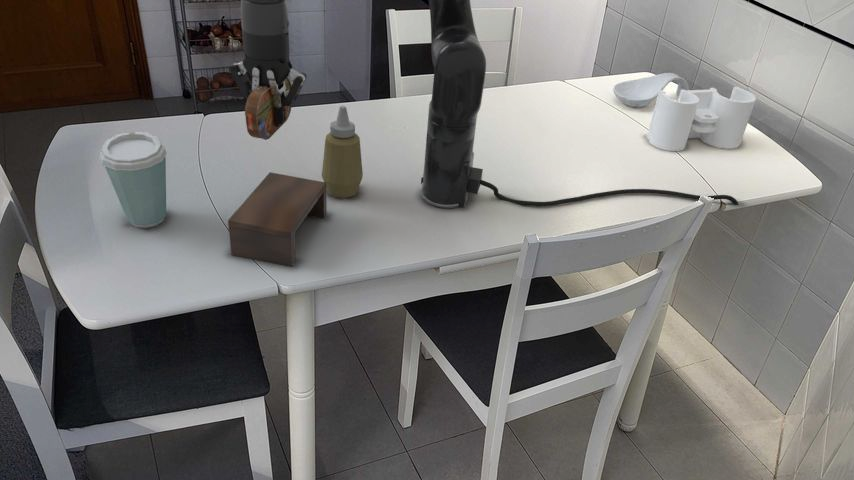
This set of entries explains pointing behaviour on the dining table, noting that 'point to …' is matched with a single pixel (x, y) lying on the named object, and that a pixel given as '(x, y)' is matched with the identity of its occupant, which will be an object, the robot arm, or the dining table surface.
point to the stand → (275, 217)
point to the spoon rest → (646, 89)
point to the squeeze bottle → (342, 157)
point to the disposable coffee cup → (137, 176)
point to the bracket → (700, 118)
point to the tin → (263, 112)
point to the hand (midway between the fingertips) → (270, 122)
